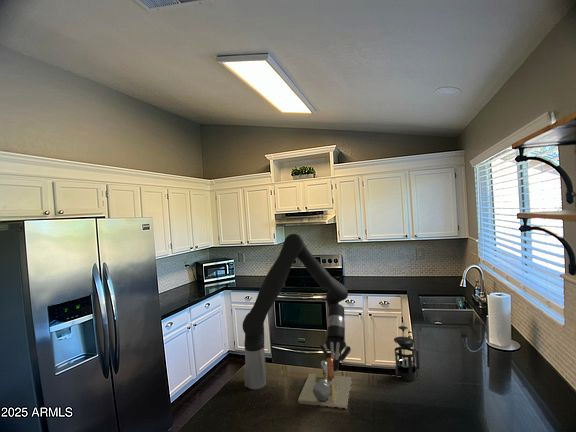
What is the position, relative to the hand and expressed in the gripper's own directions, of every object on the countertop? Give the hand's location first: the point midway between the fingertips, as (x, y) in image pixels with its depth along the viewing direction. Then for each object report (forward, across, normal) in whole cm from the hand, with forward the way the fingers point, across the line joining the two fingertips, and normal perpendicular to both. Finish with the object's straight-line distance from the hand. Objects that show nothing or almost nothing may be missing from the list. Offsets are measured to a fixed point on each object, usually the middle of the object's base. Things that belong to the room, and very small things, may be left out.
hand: (334, 370), depth 120 cm
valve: (+2, -6, +20) cm, 21 cm away
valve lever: (-1, -4, +6) cm, 7 cm away
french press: (-10, +29, +34) cm, 46 cm away
